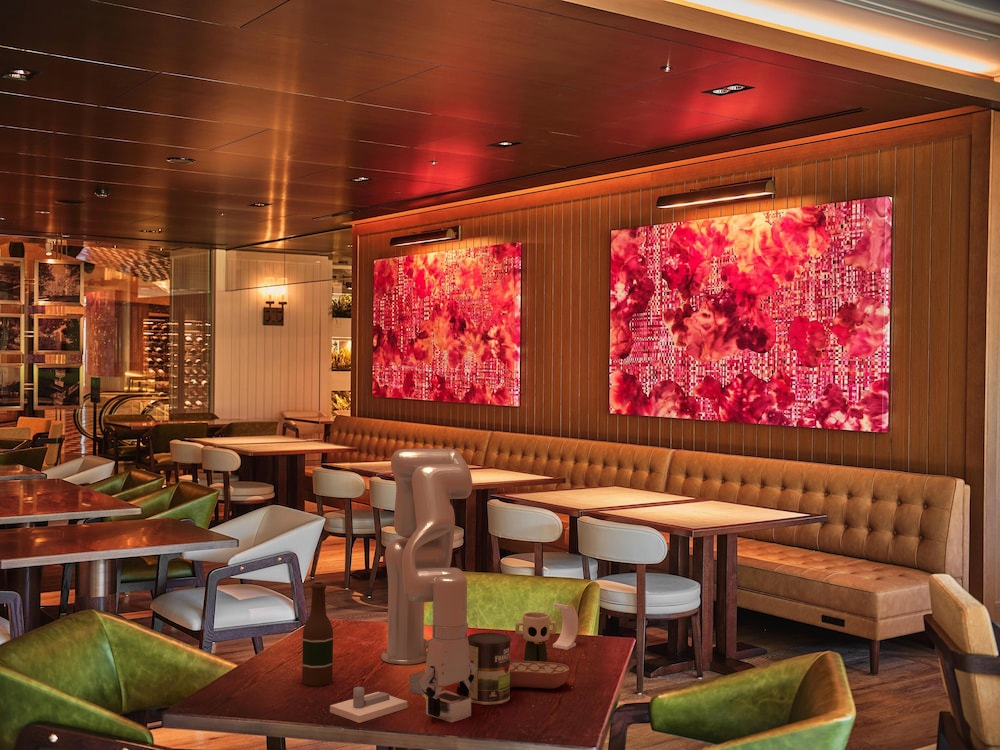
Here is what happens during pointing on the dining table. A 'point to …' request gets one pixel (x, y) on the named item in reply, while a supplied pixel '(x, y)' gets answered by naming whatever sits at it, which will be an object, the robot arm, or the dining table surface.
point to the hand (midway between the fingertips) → (448, 710)
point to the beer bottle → (317, 641)
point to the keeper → (367, 705)
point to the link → (452, 706)
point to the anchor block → (417, 683)
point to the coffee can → (490, 668)
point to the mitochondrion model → (537, 674)
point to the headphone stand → (567, 627)
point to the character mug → (536, 634)
